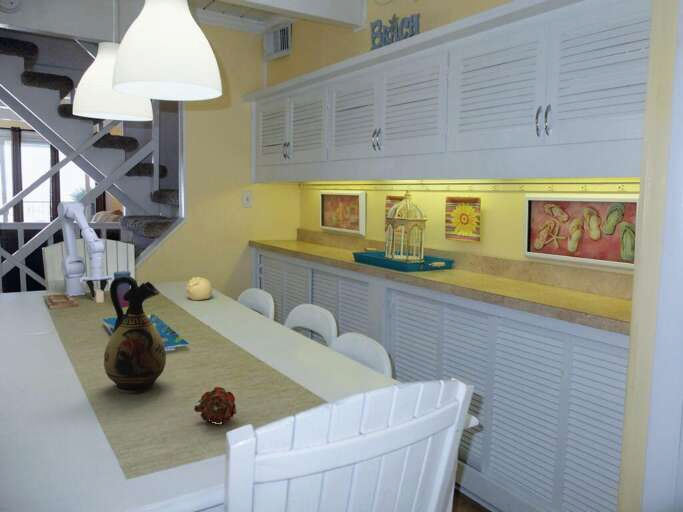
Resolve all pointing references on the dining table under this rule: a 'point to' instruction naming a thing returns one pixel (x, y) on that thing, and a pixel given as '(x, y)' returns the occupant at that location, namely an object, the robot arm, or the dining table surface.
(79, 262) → the robot arm
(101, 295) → the clay bar
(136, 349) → the ceramic jug
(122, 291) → the cup
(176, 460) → the dining table surface
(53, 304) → the rack
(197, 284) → the sculpture
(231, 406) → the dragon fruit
